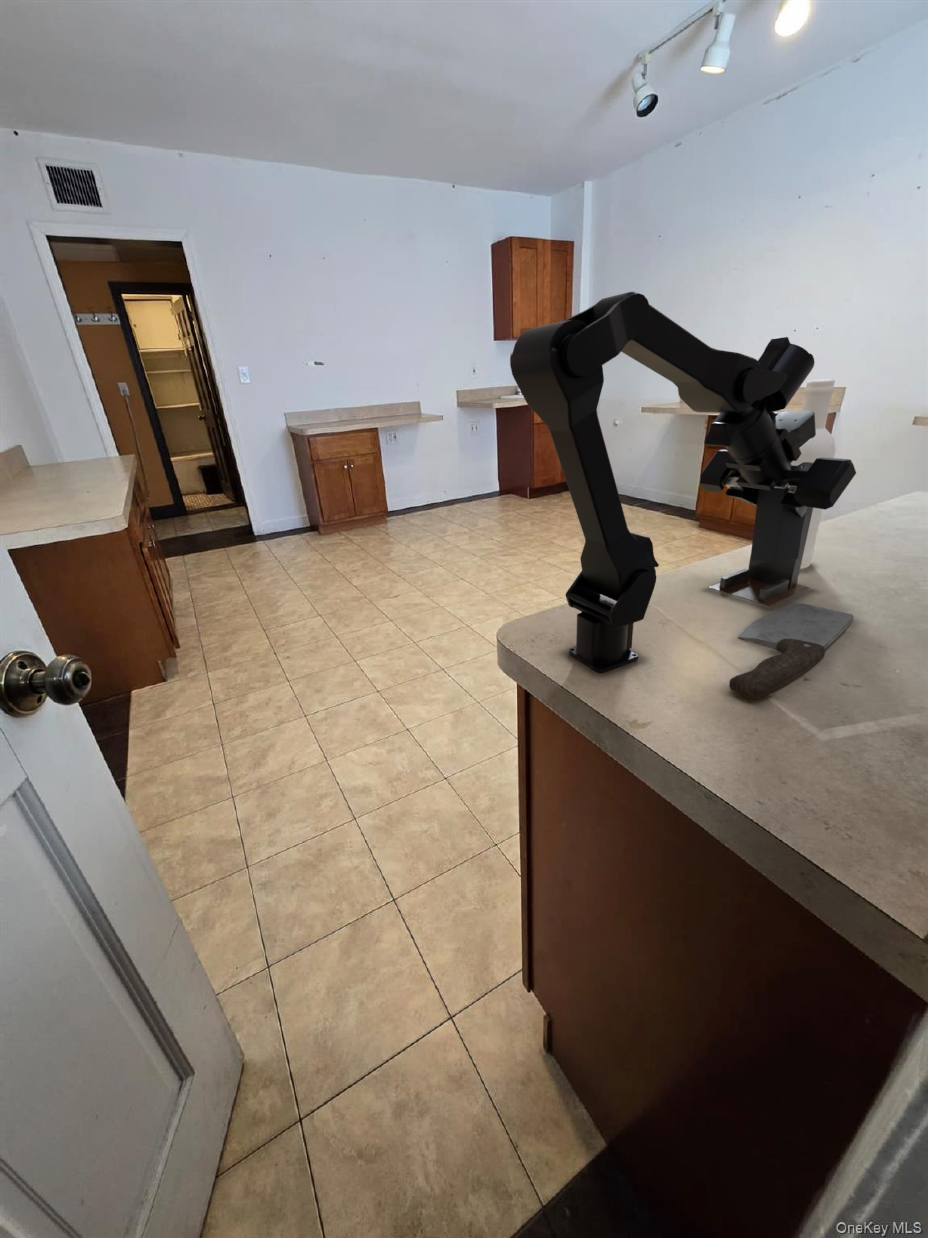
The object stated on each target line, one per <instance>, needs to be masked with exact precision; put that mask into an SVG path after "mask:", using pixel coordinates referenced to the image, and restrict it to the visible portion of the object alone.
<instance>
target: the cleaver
mask: <svg viewBox="0 0 928 1238" xmlns="http://www.w3.org/2000/svg"><path fill="white" fill-rule="evenodd" d="M853 620H854V614H852V613H848V612H843V611H839V610H834V609H830V608H825V607H820V606H815V605H812V604H811V605H810V604H806V603H802V602H801V603H800V602H793V603H790V604H788V605H785V606H782V607H780V608H777V609H776V610H774V611H771V612H769V613H767V614H765V615H763V616H762V617H760V618H758V619H756V620H754V621H753V622H752V623H750V624H749V625H748V626H747V627H746V628H744V629H743V631H742V632H741V633H740V634H739V635H738V636H737V638H739V639H741V640H744V641H746V642H748V643H752V644H757V645H760V646H764V647H767V648H770V649H773V650H776V651H778V652H779V654H776V655H772V656H770V657H768V658H765V659H763V660H761V661H760V662H759V663H758V664H757V665H756V667H755V668H753V669H752V670H749V671H746V672H743V673H740V674H737V675H735V676H733V677H732V678H730V679H729V682H728V683H729V685H728V686H729V689H730V691H732V692H734V693H736V694H739V695H741V696H744V697H746V698H748V699H749V698H750V699H759V698H762V697H764V696H767V695H769V694H771V693H773V692H775V691H777V690H779V689H781V688H782V687H784V686H786V685H787V684H789V683H791V682H793V681H795V680H796V679H797V678H799V677H800V676H802V675H803V674H805V673H806V672H808V671H810V669H812V668H813V667H814V666H816V665H817V664H818V663H820V662H821V660H823V658H824V657H825V654H826V649H828V648H829V647H830V646H832V644H833V643H834V642H835V641H836V640H837V639H838V638H840V636H841V635H843V633H845V631H846V630H847V629H848V628H849V626H850V625H851V623H852V622H853Z"/></svg>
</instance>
